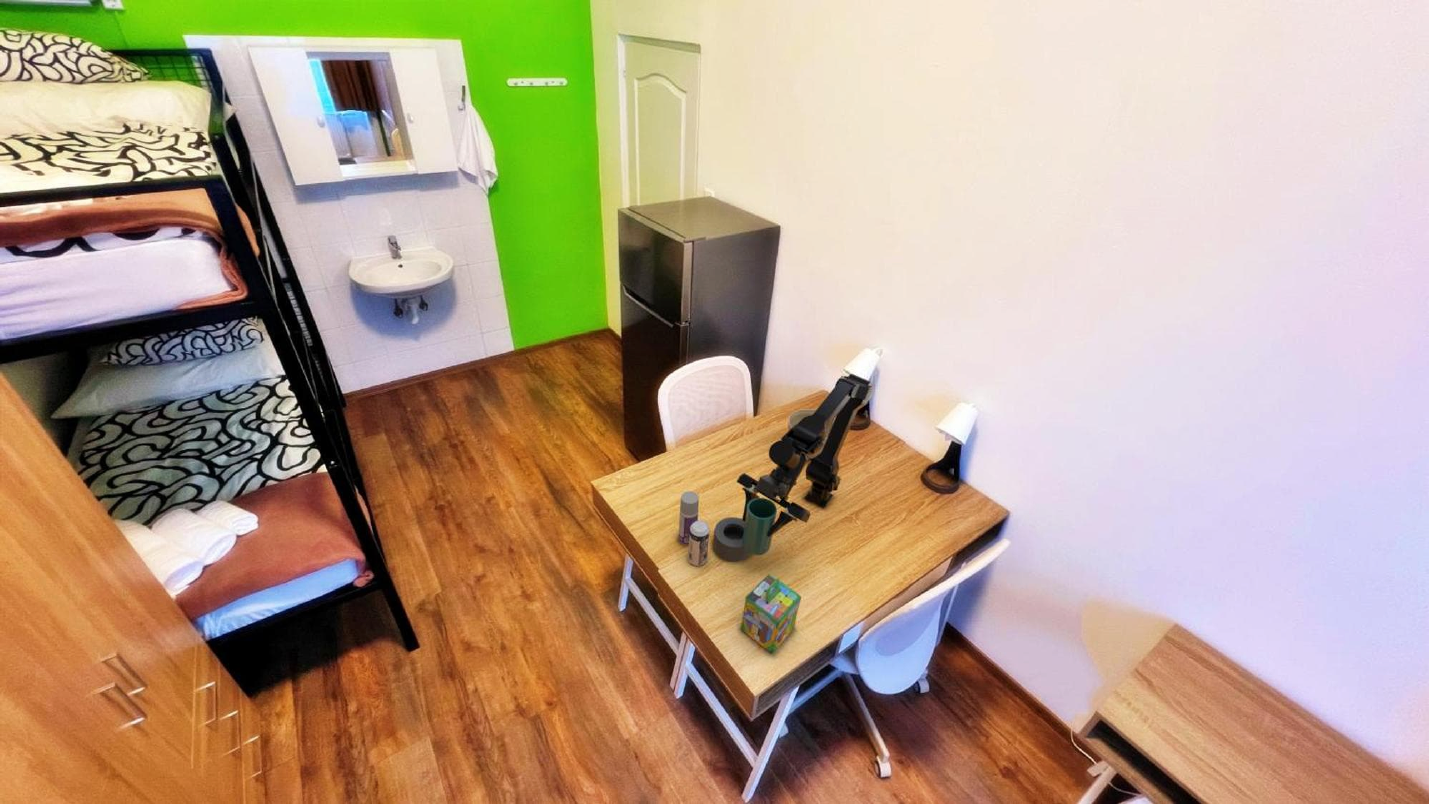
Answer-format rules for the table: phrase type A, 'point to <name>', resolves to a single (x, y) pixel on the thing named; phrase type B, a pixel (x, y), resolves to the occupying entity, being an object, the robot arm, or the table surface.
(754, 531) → the green cup
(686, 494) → the container
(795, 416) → the planter bowl
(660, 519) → the table surface
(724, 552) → the grey pot
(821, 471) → the robot arm
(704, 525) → the grey capped bottle
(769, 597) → the chalk box
